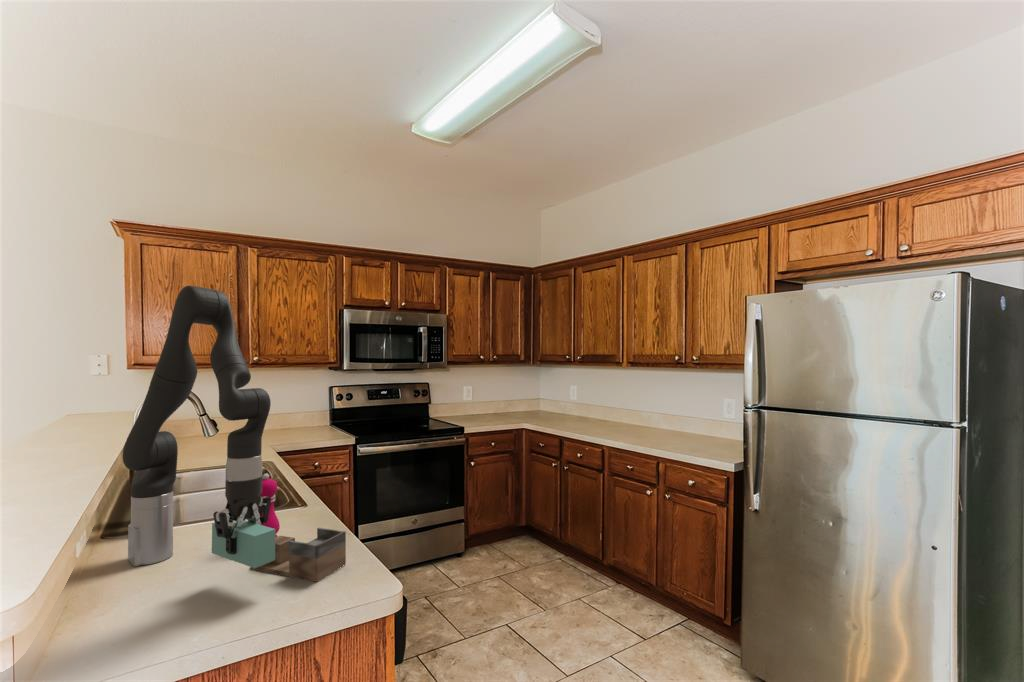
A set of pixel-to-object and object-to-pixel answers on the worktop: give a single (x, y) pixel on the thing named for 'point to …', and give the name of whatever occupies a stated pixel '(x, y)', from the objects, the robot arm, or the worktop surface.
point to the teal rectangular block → (248, 544)
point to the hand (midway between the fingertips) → (243, 548)
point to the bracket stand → (308, 556)
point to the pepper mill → (268, 491)
